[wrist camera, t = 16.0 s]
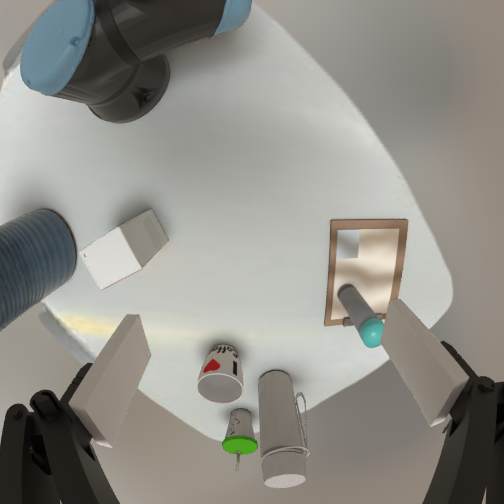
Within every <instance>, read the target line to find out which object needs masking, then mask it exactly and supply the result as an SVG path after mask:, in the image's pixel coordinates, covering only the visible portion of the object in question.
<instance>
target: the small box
mask: <svg viewBox="0 0 504 504" xmlns="http://www.w3.org/2000/svg"><path fill="white" fill-rule="evenodd" d="M168 241H169V240H168V238H167V236H166V234H165V233H164V231H163V229H162V227H161V225H160V223H159V221H158V219H157V217H156V216H155V214H154V212H153V210H152V209H149V210H147V211H146V212H144V213H142V214H140V215H138V216H136V217H134V218H132V219H130V220H129V221H127V222H125V223H123V224H121V225H119V226H118V227H116V228H114V229H113V230H111V231H109V232H108V233H106V234H105V235H103V236H101V237H100V238H98V239H96V240H95V241H93V242H92V243H91V244H89V245H88V246H87V247H85V248H84V249H82V250H81V251H80V252H79V254H80V256H81V258H82V260H83V262H84V263H85V265H86V267H87V269H88V270H89V272H90V274H91V275H92V277H93V279H94V280H95V282H96V284H97V285H98V287H99V288H100V290H103V289H105V288H107V287H109V286H111V285H113V284H115V283H117V282H118V281H120V280H122V279H124V278H126V277H128V276H130V275H132V274H134V273H136V272H138V271H139V270H141V269H142V268H143V267H144V266H145V265H146V264H147V263H148V262H149V261H150V260H151V259H152V257H153V256H154V255H155V254H156V253H157V252H158V251H159V250H160V249H161V248H162V247H163V246H164V245H165V244H166V243H167V242H168Z"/></svg>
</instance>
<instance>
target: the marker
mask: <svg viewBox="0 0 504 504" xmlns="http://www.w3.org/2000/svg"><path fill="white" fill-rule="evenodd" d="M337 297H338V299H339V300H340V302H341V304H342V305H343V307H344V309H345V310H346V312H347V314H348V315H349V317H350V319H351V320H352V322H353V324H354V325H355V327H356V329H357V330H358V332H359V335H360V337H361V339H362V340H363V342H364V344H365V345H366V346H367V347H369V348H374V347H377V346H379V345H381V343H380V340H381V336H382V332H383V327H384V324H383V322H382V321H381V320H380V319H379V318H378V317H377V315H376V314H375V313H374V311H373V310H372V309H371V307H370V306H369V305H368V303H367V302H366V301H365V299H364V298H363V297H362V296H361V294H360V293H359V292H358V290H357V289H356V288H355V287H354V285H352V284H344V285H342V286H341V287H340V288H339V289H338V292H337Z"/></svg>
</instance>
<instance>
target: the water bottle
mask: <svg viewBox="0 0 504 504" xmlns="http://www.w3.org/2000/svg"><path fill="white" fill-rule="evenodd" d="M258 391H259V419H260V448H261V460H260V461H261V465H262V472H263V478H264V484H266V485H267V486H269V487H274V488H286V487H292V486H296V485H298V484H301V483H303V482H304V481H305V480H306V457H307V456H308V455H310V451H309V449H308V446H306V445H307V444H306V443H307V441H306V442H305V446H306V447H303V445H302V439H301V433H300V427H299V421H298V415H297V409H298V414H299V418H300V412H299V408H298V403H297V397H298V396H300V395H301V396H302V397H303V399H304V403H305V417H306V401H305V398H304V395H303V393H302V392H300V393H297V395H296V403H295V397H294V391H293V386H292V380H291V378H290V376H289V375H287V374H285V373H284V372H282V371H272V372H268V373H266V374H265V375H263V376H262V377H261V378H260V379H259V384H258ZM296 405H297V409H296ZM305 419H306V418H305ZM300 423H301V427H302V422H301V418H300ZM306 426H307V425H306ZM306 428H307V427H306ZM302 432H303V427H302ZM306 434H307V429H306ZM303 436H304V432H303ZM306 437H307V435H306ZM304 441H305V438H304ZM303 449H305V450H306V455H305V456H304V454H303Z"/></svg>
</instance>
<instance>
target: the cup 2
mask: <svg viewBox="0 0 504 504" xmlns="http://www.w3.org/2000/svg"><path fill="white" fill-rule="evenodd" d="M222 446H223V449H224V450H226V451H228V452H229V453H233V454H237V465H236V471H238V469H239V457H240V454H249V453H252V452H254V451H255V450H257V449H258V444H257V441H256V440H255V437H254V432H253V426H252V421H251V415H250V412H249V411H248V410H246V409H236V410H233V412H232V413H231V417H230V421H229V425H228V429H227V433H226V437H225V439H224V441H223V442H222Z"/></svg>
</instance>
